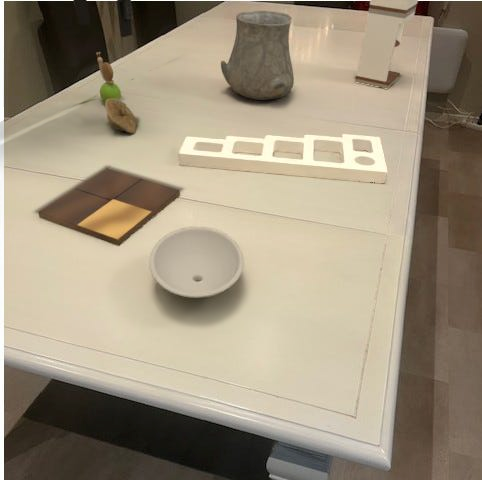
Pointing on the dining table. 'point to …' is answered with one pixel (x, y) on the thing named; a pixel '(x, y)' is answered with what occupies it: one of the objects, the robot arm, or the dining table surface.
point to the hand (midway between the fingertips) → (105, 30)
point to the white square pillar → (382, 40)
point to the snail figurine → (108, 81)
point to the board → (110, 205)
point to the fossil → (120, 115)
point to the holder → (350, 168)
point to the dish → (196, 261)
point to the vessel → (260, 56)
